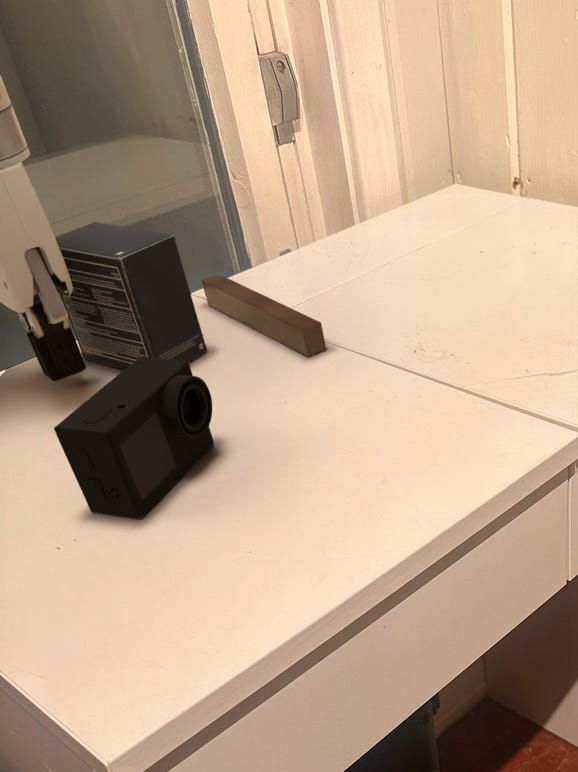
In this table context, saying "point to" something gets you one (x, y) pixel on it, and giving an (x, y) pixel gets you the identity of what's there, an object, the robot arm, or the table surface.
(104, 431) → the digital camera
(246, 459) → the table surface
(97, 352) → the small box
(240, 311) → the brown wooden bar
